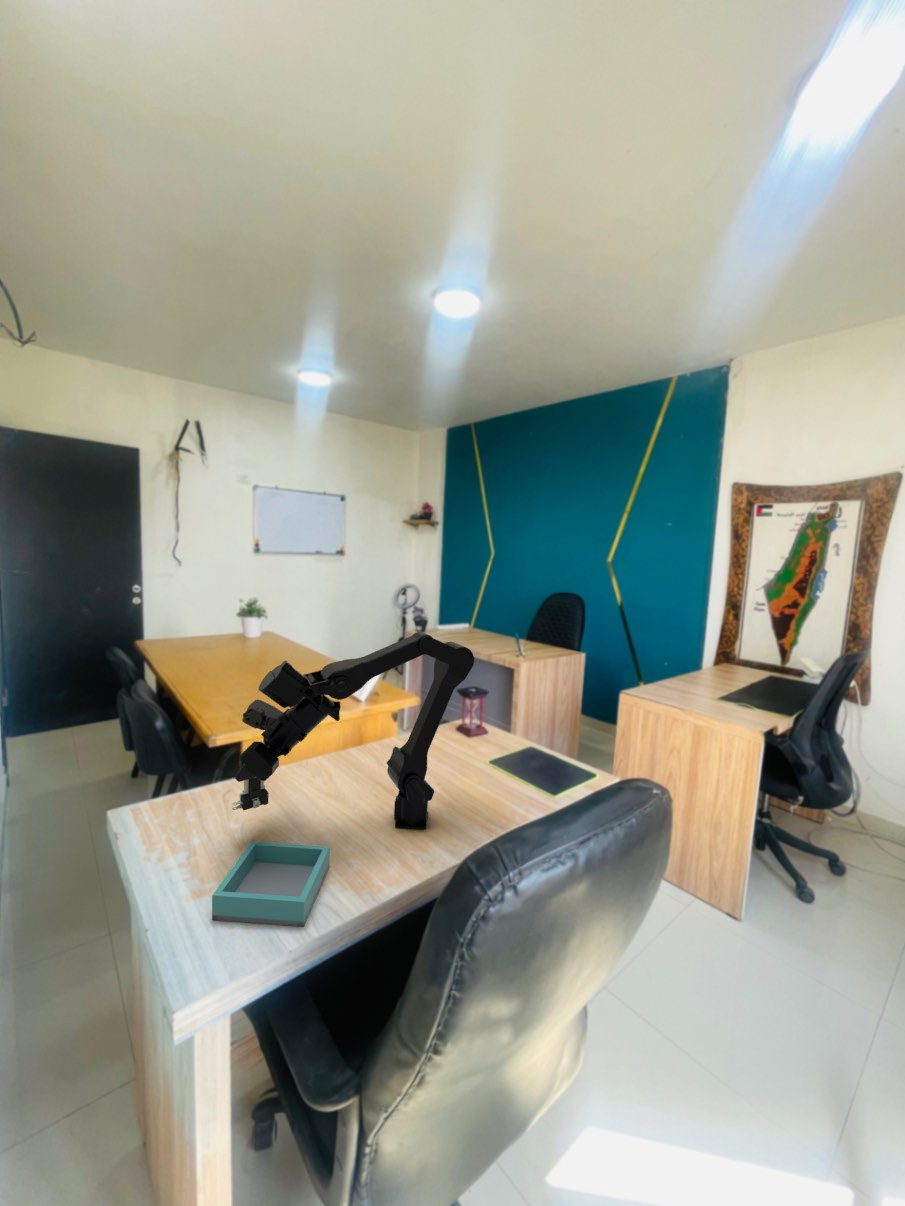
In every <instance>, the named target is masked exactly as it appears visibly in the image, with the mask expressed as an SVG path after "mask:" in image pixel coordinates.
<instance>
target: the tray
mask: <svg viewBox="0 0 905 1206" xmlns="http://www.w3.org/2000/svg"><path fill="white" fill-rule="evenodd" d="M330 848H331V846H328V845H313V844H300V843H299V844H298V843H297V844H296V843H285V842H271V841H270V842H269V841H257V840H255V841H254V840H251V842H250V843H249V844H248V846H247V847H246V849H245V850H244V852H243V853H242V854H241V855H240V857H239V858H238V860H236V862H235V864H234V865H233V867H232V868H231V869H230V871H229V872H228V873H227V874H226V876H225V877H224V878H223V880H222V882H221V883H220V884H219V885H218V887H217V888H216V889H215V891H214V892H213V894H212V896H211V920H212V921H222V922H234V923H235V922H237V923H250V924H262V925H263V924H264V925H277V926H278V925H279V926H289V927H291V926H292V927H305V925H306V922H307V920H308V918H309V915H310V914H311V913H310V912H311V911H312V909H313V906H314V904H315V902H316V899H317V898H318V897H317V896H318V894H319V892H320V889H321V887H322V886H323V883H324V881H325V878H326V875H327V874H328V872H329V869H330V853H331V851H330V850H331V849H330Z"/></svg>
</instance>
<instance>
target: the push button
mask: <svg viewBox="0 0 905 1206" xmlns="http://www.w3.org/2000/svg"><path fill="white" fill-rule="evenodd" d="M237 765H238V767H239V771H240V770H241V768H242V767H243V765H244V763H243V762H242V761H241V760H240V759H239V760H238V761H237ZM268 804H269V791H268V790H267V788H266V785H265V781H261V780H260V779H259V778H258V777H254V778H251V779H247V780H244V781H243V790H242V793H240V794H239V800H238V801H235V802H232V803H231V806H234V807H231V809H232V810H233V811H235V810H238V809H242V810H243V811H247V810H250V809H256V808H259V807H260V806H266V805H268Z"/></svg>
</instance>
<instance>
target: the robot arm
mask: <svg viewBox="0 0 905 1206" xmlns="http://www.w3.org/2000/svg"><path fill="white" fill-rule="evenodd" d="M424 655H426V656H429V657H431V658H434V664H433V680H432V683H431V685H430V687H429V690H428V693H427V694H426V696H425V697H426V698H425V700H424V702H423V704H422V707H421V708H420V711H419V714H418V715H417V718H416V721H415V722H414V725H413V728H412V729H411V732H410V734H409V737H408V740H407V741H406V742H405V743H404V744H403V745H402V746H401V747H398V746H393V748H392V752H391V755H390V758H388V760H387V761H386V764H387V765H388V766H387V770H386V772H387V774H388V777H389V779H390V780H391V782H392V783H393V784H394V785H395V787H396V788H397V789H398V792H397V795H396V796H395V799H394V810H393V811H394V812H393V819H394V820H395V823H394V827H395V828H398V829H399V828H400V829H414V830H426V829H427V826H428V820H429V819H428V818H429V801H432V800H433V797H434V794H435V790H434V788H433V787H432V786H431V785H430V784H429V783H428V782H427V780H426V775H427V771H428V754H429V751H430V748H431V745H432V743H433V741H434V737H435V736H436V733H437V731H438V729H439V726H440V724H441V721H442V719H443V717H444V714H445V712H446V710H447V707H448V705H449V703H450V701H451V698H452V695H453V693H454V691H455V690H456V688H457V687H458V686H460V685H461V684H462V683H463V682H464V681H465V680H466V679H467V678H468V676H469V673H470V672H472V671H471V670H472V669H473V667H474V665H475V659H476V658H475V657H474V653H473V651H472V649H470V648H468V647H466V646H464V645H461V644H459V643H456V642H455V641H447V642H443V641H440V640H438V639H436V638H434V637H433V636H431V635H429V634H427V633H426V632H424V631H416V632H415V633H413V634H412V635H410V636H408V637H406V638H403V639H401V640H398V641H397V642H393V643H392V644H389V645H388V646H385V647H382V648H381V649H378V650H376V651H373V652H371V653H368V654H367V655H364V656H361V657H357V658H349V659H348V658H347V659H343V660H337V661H334V662H331V663H327V664H326V665H325V666H324V667H322V669H320V670H316V671H312V672H309V673H303V674H302V673H301V672H299V671H298V669H295V668H294V667H293V665H292V664H291V663H290V662H289V661H287V660H283V661H282V662H281V664H279V665H276V667H274V668H273V669H271V670H270V671H268V673H267V674H266V675H265V676H264V677H263V678H262V680H261V682H260V683H259V685H258V688H257V689H258V691H259V692H260V693H262V694H264V695H265V696H266V697H267V698H269V699H270V700H272V701H273V702H275V703H276V704H277V705H279V706H280V707H281V708H283V709H286V708H287V709H286V710H285V711H284V712H283V711H282V710H280V709H279V708H277V707H276V706H273V705H271V704H270V703H267V702H265V701H264V700H262V699H255V700H254V701H253V702H251V703H250V704H249V705H248V707H247V709H246V711H245V712H243V713H242V719H241V721H242V723H244V724H245V725H247V726H250V727H252V728H254V729H259V730H260V731H263V732H262V733H261V734H260V735H261V736H262V738H263V739H262V740H263V741H257V740H256V741H253V742H252V743H251V744H250V745H249V746H248V747H247V748H246V749H245V750H243V751H242V753H241V754H240V755H239V761H240V760H241V761H242V762H243V763H244V765H243V767H242V768H241V770H240V769H239V770H238V773H237V774H236V775H235V777H234V779H235V780H236V782H238V783H240V782H244V780H247V779H251V778H254V777H258V778H259V779H260V780H261V781H264V782H266V781H267V780H268V779H269V778H270V777H271V776H272V775H273V774H274V772H276V770H277V769H278V768H279V767H280V759H279V757H281V756H284V757H286V756H287V755H288V754H290V752H291V751H292V750H293V748H295V746H297V745H298V744H299V743H300V742H301V743H302V742H303V741H304V740H305V739H306V738H307V736H308V735H309V734H310V733H311V732H312V731H313V730H314V729H315V728H317V727H318V726H319V725H320V724H321V722H324V720H325V719H326V718H328V717H331V718H332V719H333V720H334V721H336V722H339V721H340V720H341V718H340V712H341V709H342V707H341V701H342V700H344V699H345V700H346V699H347V698H349V697H350V696H352V695H354V694H355V693H356V692H358V691H359V690H362V688H363V687H364V686H365V685H366V684H367V683H368V682H369V681H370V680H372V679H374V678H375V677H377V676H380V675H381V674H384V673H387V672H389V671H390V670H392V669H395V668H397V667H399V666H402V665H404V664H406V663H408V662H410V661H413V660H415V659H417V658H419V657H421V656H424ZM328 696H329V697H330V698H331V699H330V698H329V697H328ZM332 699H335V700H332ZM288 707H289V708H288Z"/></svg>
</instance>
